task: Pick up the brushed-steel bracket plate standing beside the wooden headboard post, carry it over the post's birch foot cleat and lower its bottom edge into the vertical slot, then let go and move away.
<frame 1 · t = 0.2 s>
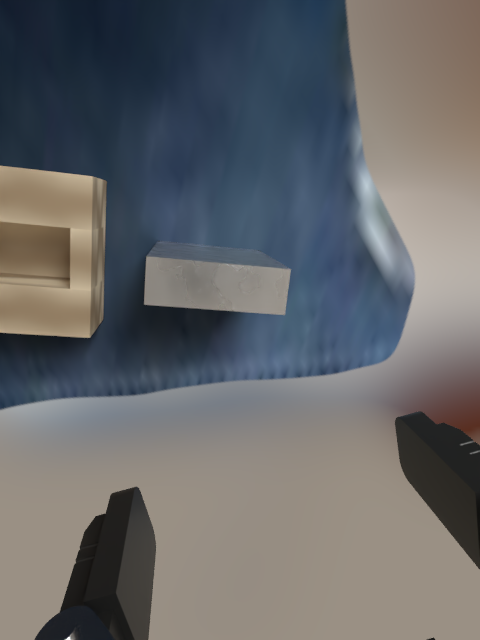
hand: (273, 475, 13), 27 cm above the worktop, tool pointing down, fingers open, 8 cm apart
steel bracket: (208, 262, 38), on the worktop
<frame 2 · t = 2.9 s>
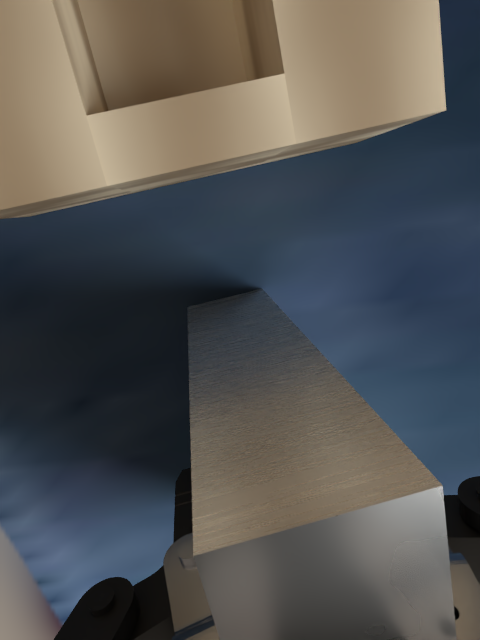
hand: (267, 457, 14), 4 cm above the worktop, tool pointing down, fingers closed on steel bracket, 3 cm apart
steel bracket: (249, 399, 18), on the worktop, touching gripper
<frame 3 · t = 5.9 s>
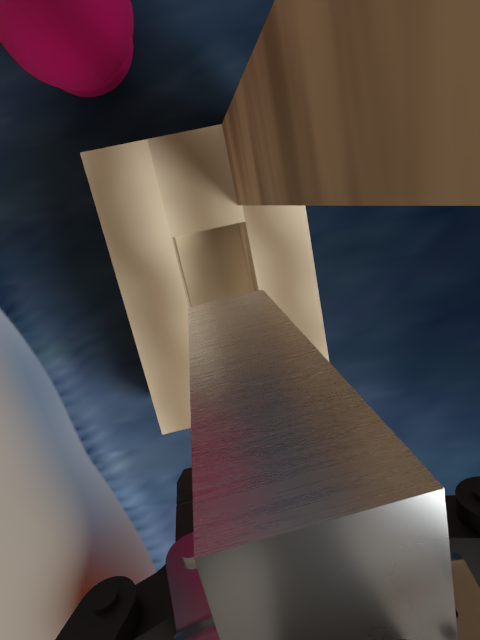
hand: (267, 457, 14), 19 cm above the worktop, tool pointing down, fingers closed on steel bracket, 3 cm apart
headboard post: (215, 272, 31), on the worktop
pepper mill: (83, 44, 27), on the worktop
steel bracket: (249, 400, 18), point 15 cm above the worktop, touching gripper
when the fingers open (6 cm above the worktop, at t = 8.7 s): steel bracket stays where it is, resting on headboard post.
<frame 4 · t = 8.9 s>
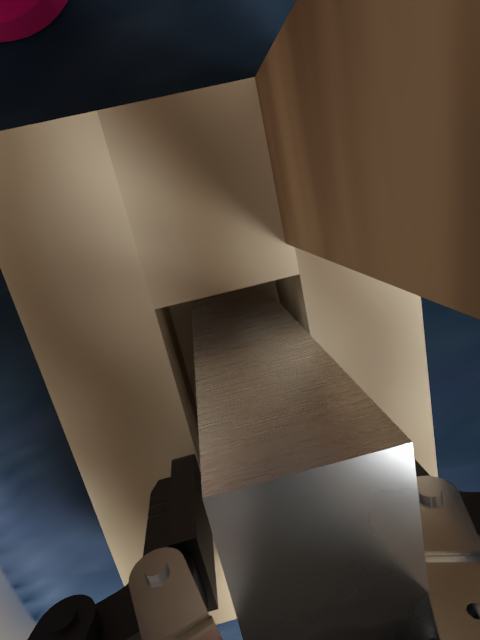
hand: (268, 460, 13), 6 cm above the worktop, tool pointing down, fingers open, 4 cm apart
headboard post: (233, 341, 19), on the worktop
steel bracket: (248, 389, 18), point 1 cm above the worktop, touching headboard post
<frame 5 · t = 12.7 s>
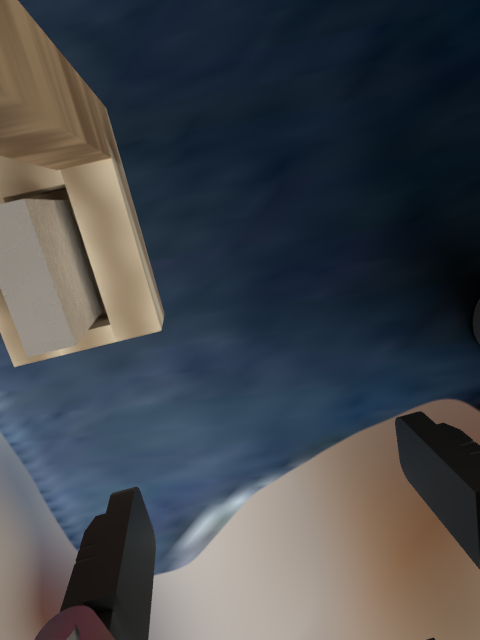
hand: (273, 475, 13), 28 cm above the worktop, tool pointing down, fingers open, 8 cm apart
headboard post: (69, 233, 37), on the worktop
steel bracket: (76, 257, 36), point 1 cm above the worktop, touching headboard post
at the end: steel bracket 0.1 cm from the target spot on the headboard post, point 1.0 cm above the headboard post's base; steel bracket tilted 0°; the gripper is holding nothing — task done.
